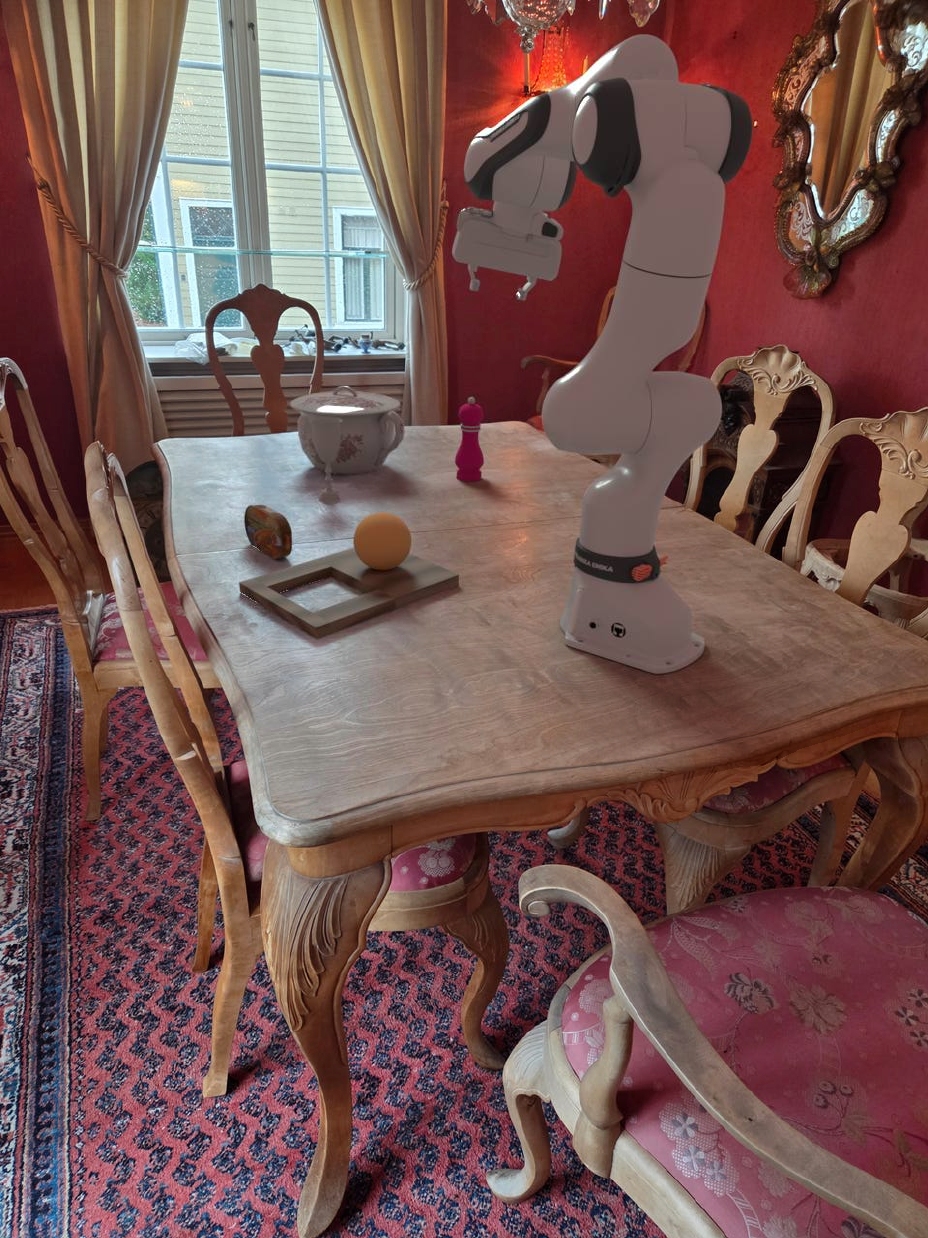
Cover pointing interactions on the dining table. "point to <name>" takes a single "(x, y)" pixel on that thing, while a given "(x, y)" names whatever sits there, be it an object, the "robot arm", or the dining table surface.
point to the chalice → (327, 450)
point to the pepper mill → (470, 443)
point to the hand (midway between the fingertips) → (497, 294)
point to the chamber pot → (352, 428)
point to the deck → (377, 585)
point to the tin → (268, 531)
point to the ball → (382, 541)
